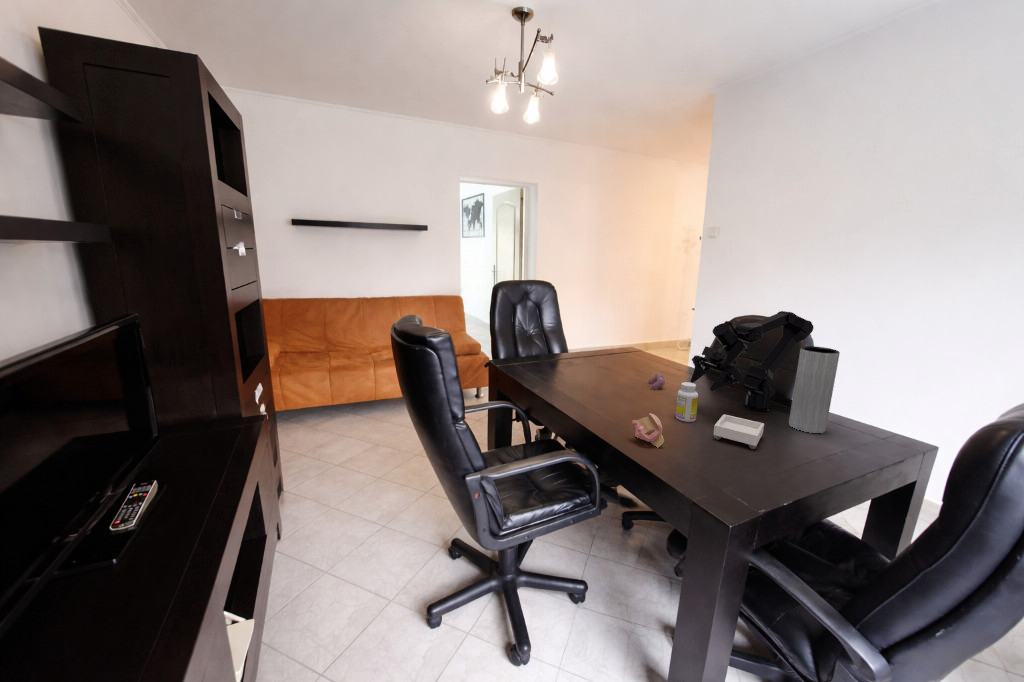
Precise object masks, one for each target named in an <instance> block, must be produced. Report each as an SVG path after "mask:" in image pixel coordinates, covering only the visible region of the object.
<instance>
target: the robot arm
mask: <svg viewBox="0 0 1024 682" xmlns="http://www.w3.org/2000/svg"><path fill="white" fill-rule="evenodd" d="M780 327H782V328H781V330H782V333H781V334H782V336H781V337H780V338H779V340H778V341H777V343H775V345H774V346H773V348H772V349H771V350H770V351H769V353H768V354H767V355H766V357H765V358H764V359H763V361H762V362H760V365H758V366H754V365H752V366H750V367H749V368H748V370H747V371H746V372H745V373H744V374H745V375H743V374H742V373H741V371H740V370H739V368H738V367H737V366H736V367H735V366H732V365H736V364H737V361H736V360H737V359H738V358H739V356H741V354H742V353H745V354H748V353H749V345H748V344H745V343H749V344H754V343H756V342H758V341H760V340H761V339H762V338H763V335H765V334H767V333H769V332H771V331H774V330H776V329H778V328H780ZM813 331H814V325H813V323H812V321H811V320H807V319H805V318H803V317H801V316H798V315H797V314H796V313H793V312H791V311H786V310H785V311H784V310H781V311H780V310H779V311H778V312H777V313H776V314H773V315H771V316H768V317H766V318H763V319H761V320H759V321H757V322H751V323H748V322H747V323H742V324H741V323H740V324H738V325H737V326H736V327H734V325H733V323H732V321H728V320H725V321H724V322H723V323H719V324H717V325H716V326H714V327H713V329H712V334H713V336H714V337H715V338H716V339H717V341H718V342H719V344H721V346H723V347H722V348H720V347H719V348H718V349H717V348H716V349H715V348H712V347H709V346H706V345H705V346H704V348H703V350H702V352H701V356H700V355H694V356H693V357H692V358H691V361H692V363H693V365H694V369H693V372H692V375H691V378H690V383H695V382H696V381H698V380H699V379H700V378H702V377H703V376H704V375H706V374H707V371H709V370H712V371H715V372H719V377H718V378H716V380H715V381H714V382H713V384H712V385H711V386H710V388H709V390H710V391H711V392H714V391H716V390H719V389H721V388H723V387H726V386H729V385H736V383H737V384H740V383H741V382H742V381H743V387H744V390H745V391H748V392H747V394H746V398H745V403H744V405H746V407H747V408H748V410H749V411H750V410H751V411H760V412H770V409H769V403H770V398H771V397H773V396H775V393H776V391H777V390H776V388H775V387H774V386H773V384H772V383H773V382H774V373H775V371H776V370H777V369H778V367H779V366H780V365H781V364H782V362H783V361H784V360H785V358H786V357H787V356H788V355H789V353H790V352H791V350H792V349H793V348H794V346H796V344H797V343H799V342H801V341H804V340H806V339H808V337H809V336H810V335H811V334H812V332H813ZM744 342H745V343H744ZM704 356H705V357H707V358H705V357H704Z"/></svg>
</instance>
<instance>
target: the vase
mask: <svg viewBox="0 0 1024 682" xmlns="http://www.w3.org/2000/svg"><path fill="white" fill-rule="evenodd" d="M840 353H841V352H840V351H839V350H837V349H833V348H830V347H829V348H828V347H823V346H813V345H812V346H811V345H810V346H809V345H807V346H801V347H800V351H799V357H798V363H797V367H796V368H797V371H796V374H795V381H794V387H793V388H794V389H793V394H792V401H791V407H790V413H789V419H788V425H789V427H791V428H792V427H793V428H792V429H794V428H795V429H794V430H796V429H797V431H799V430H801V431H800V432H802V431H804V433H806V432H809V433H808V434H812V433H821V434H824V433H825V432H826V431H827V430H826V429H827V426H828V419H829V415H830V414H829V413H830V409H831V403H832V397H833V394H834V393H833V392H834V387H835V381H836V375H837V370H838V366H839V361H840V360H839V359H840Z"/></svg>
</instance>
